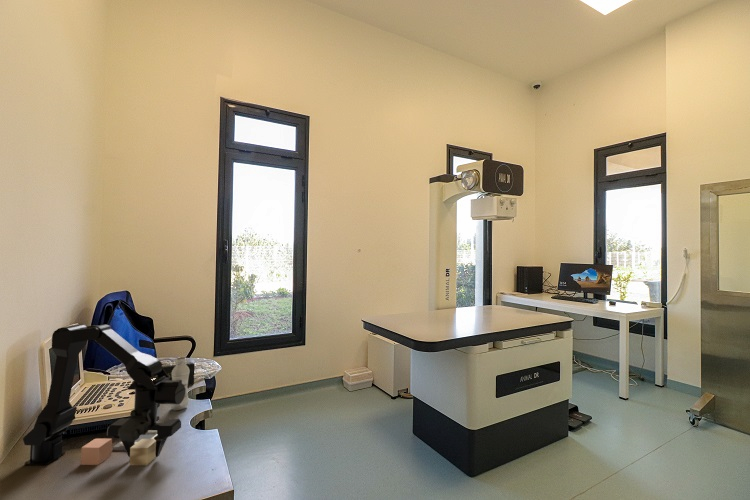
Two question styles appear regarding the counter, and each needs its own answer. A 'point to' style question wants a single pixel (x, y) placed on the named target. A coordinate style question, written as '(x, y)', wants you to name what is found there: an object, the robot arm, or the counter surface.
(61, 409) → the robot arm
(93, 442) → the terracotta block
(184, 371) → the plastic bottle
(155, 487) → the counter surface
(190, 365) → the nameplate
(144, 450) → the maple block
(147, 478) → the counter surface
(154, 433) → the baseplate
